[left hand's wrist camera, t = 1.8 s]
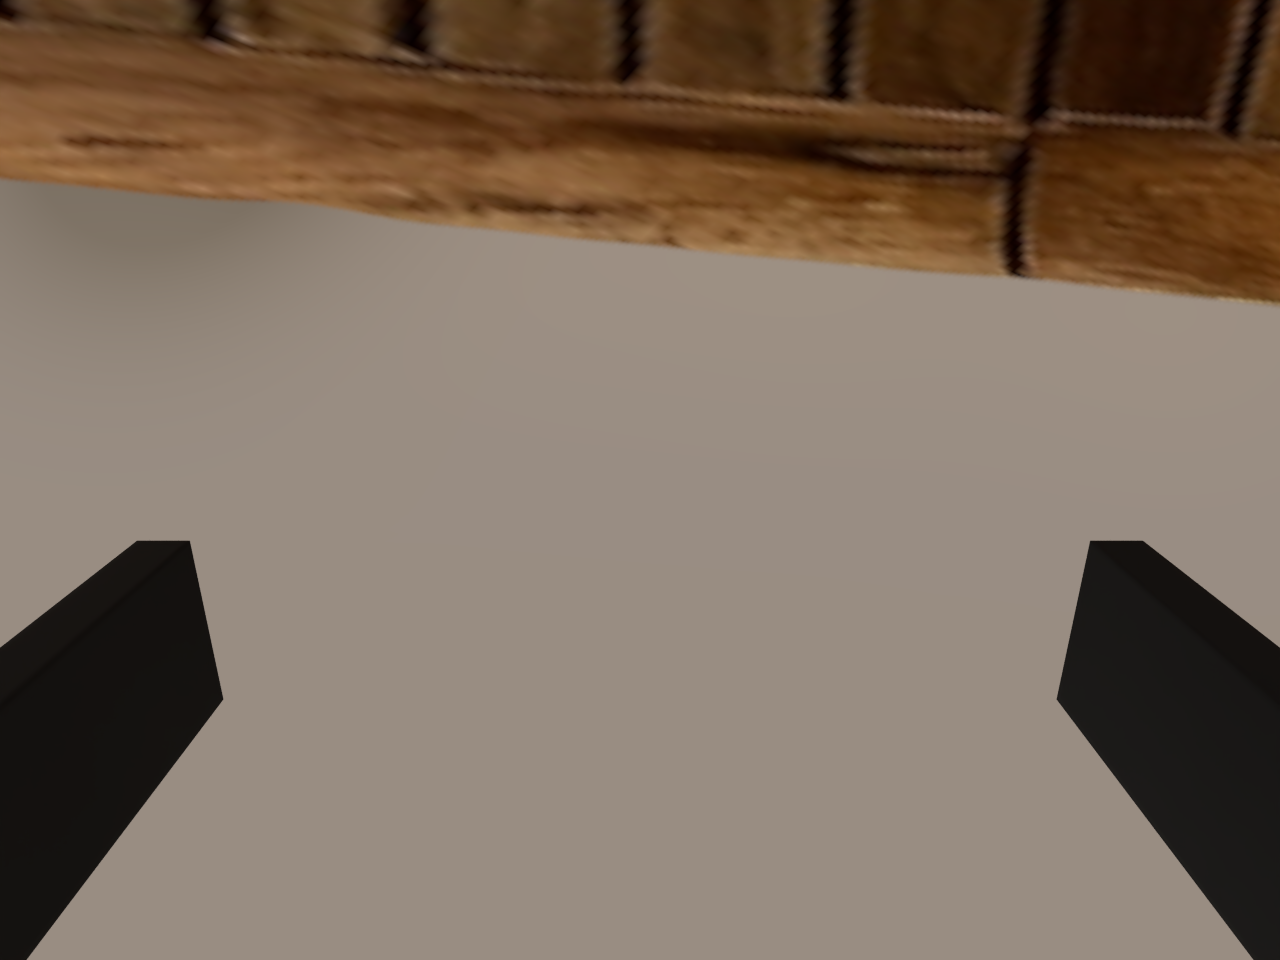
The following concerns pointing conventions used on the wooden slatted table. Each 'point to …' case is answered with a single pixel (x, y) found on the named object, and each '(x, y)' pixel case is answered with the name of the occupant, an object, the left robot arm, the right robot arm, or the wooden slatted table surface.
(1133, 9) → the wooden slatted table surface
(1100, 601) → the left robot arm
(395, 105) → the wooden slatted table surface
